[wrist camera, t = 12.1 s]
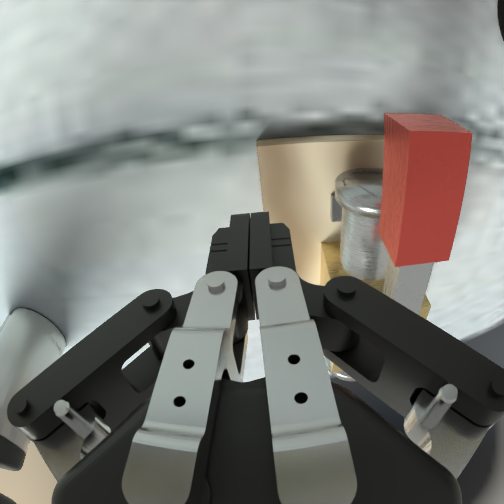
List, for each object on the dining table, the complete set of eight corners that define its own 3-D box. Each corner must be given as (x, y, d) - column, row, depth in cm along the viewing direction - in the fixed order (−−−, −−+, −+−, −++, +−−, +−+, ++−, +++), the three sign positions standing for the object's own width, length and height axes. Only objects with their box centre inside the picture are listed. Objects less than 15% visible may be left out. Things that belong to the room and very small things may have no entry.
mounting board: (277, 343, 36) (277, 354, 35) (256, 140, 22) (256, 146, 21) (402, 330, 35) (406, 340, 34) (445, 136, 21) (454, 142, 20)
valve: (317, 340, 33) (325, 407, 27) (320, 169, 22) (347, 231, 16) (374, 334, 33) (391, 397, 26) (404, 166, 21) (455, 224, 15)
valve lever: (396, 355, 21) (405, 384, 19) (356, 361, 22) (362, 392, 20) (444, 115, 11) (476, 133, 9) (379, 113, 12) (404, 130, 10)
